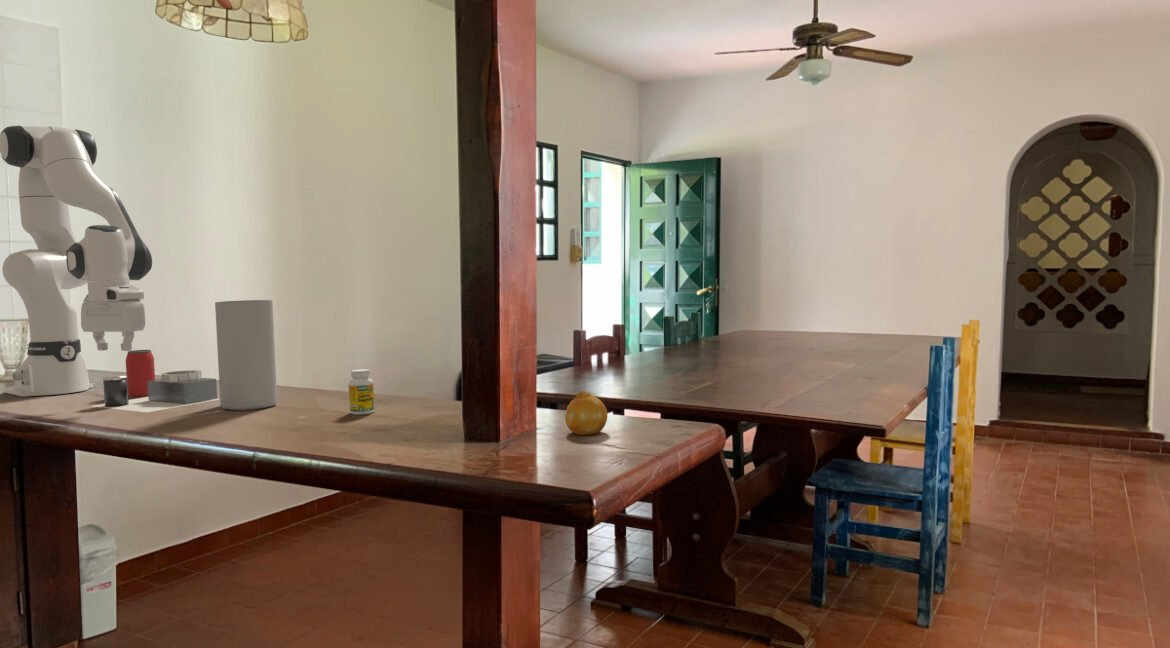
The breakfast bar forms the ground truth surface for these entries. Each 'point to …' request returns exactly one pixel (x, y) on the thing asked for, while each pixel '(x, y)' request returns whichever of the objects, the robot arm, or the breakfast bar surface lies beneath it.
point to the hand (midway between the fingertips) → (114, 350)
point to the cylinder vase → (246, 354)
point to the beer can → (139, 372)
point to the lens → (115, 390)
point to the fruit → (586, 414)
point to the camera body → (182, 387)
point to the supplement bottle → (361, 392)
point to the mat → (148, 405)
